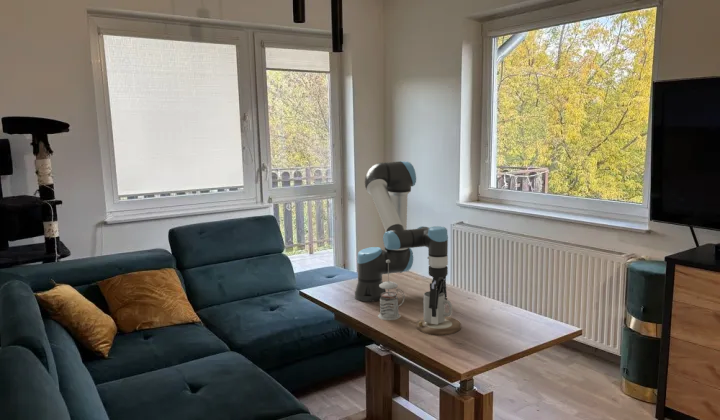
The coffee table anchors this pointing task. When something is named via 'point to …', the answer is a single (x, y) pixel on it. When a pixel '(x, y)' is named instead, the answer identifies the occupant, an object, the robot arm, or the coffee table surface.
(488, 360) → the coffee table surface
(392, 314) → the french press
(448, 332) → the ring
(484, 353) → the coffee table surface
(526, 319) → the coffee table surface
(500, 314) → the coffee table surface
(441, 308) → the mug
